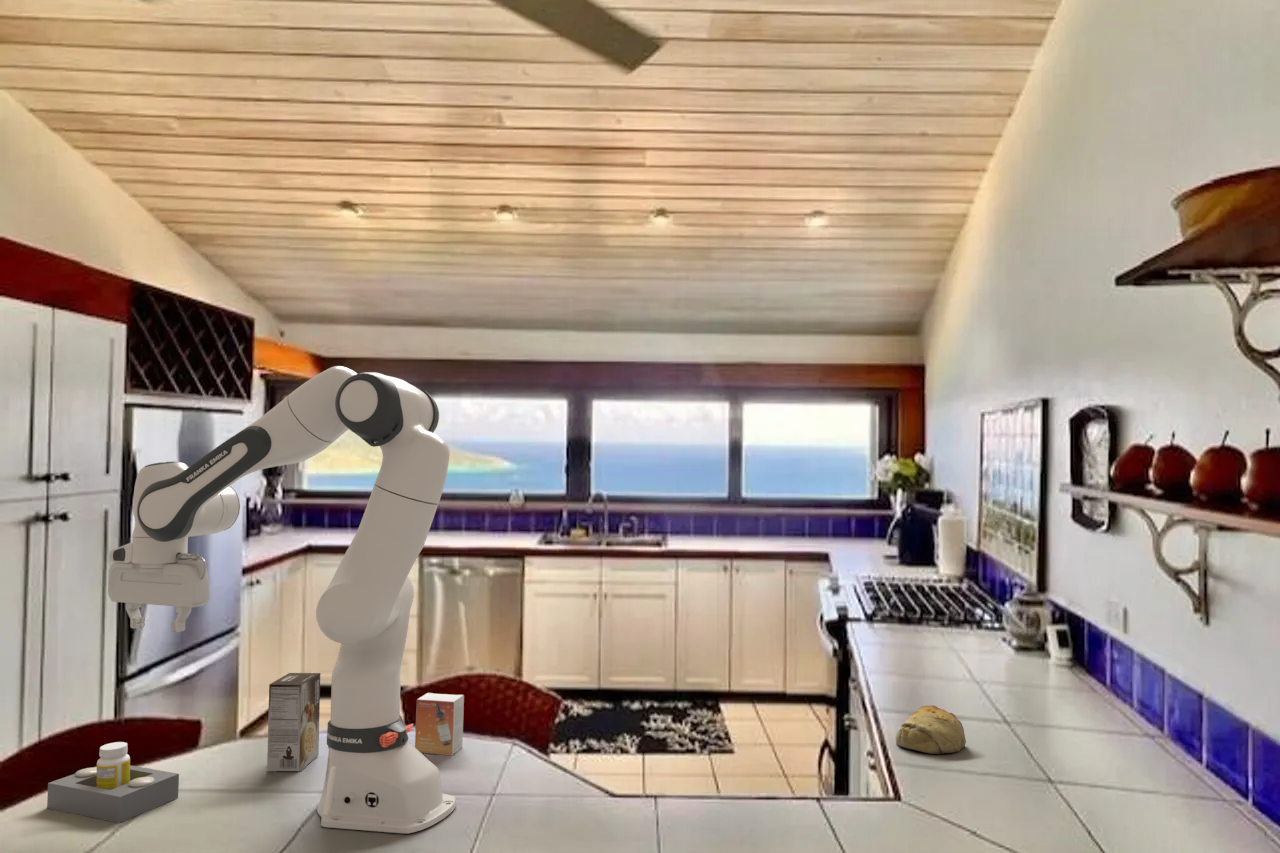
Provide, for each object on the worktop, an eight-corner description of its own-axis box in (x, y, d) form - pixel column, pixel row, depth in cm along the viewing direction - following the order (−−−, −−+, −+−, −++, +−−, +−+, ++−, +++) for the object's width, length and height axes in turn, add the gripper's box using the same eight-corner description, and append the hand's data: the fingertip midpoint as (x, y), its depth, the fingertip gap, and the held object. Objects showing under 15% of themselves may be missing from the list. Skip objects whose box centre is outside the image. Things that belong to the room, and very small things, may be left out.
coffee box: (286, 755, 168) (289, 671, 169) (319, 755, 168) (321, 672, 169) (265, 772, 159) (268, 683, 160) (300, 772, 159) (302, 684, 160)
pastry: (960, 739, 184) (960, 701, 184) (972, 759, 172) (972, 718, 172) (891, 735, 187) (891, 697, 187) (898, 754, 174) (898, 713, 175)
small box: (414, 753, 171) (415, 699, 171) (425, 744, 176) (426, 691, 177) (452, 756, 169) (454, 701, 170) (463, 747, 175) (464, 694, 175)
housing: (178, 797, 146) (179, 771, 147) (119, 822, 136) (120, 794, 136) (108, 784, 152) (109, 759, 152) (47, 807, 142) (48, 780, 142)
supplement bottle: (123, 789, 148) (124, 739, 148) (134, 796, 144) (135, 745, 145) (91, 797, 144) (92, 746, 144) (101, 804, 141) (102, 752, 141)
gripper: (219, 552, 156) (217, 630, 155) (132, 548, 162) (130, 622, 162) (191, 556, 150) (188, 636, 149) (102, 551, 156) (99, 629, 156)
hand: (157, 629), depth 155 cm, fingers open, 8 cm apart
